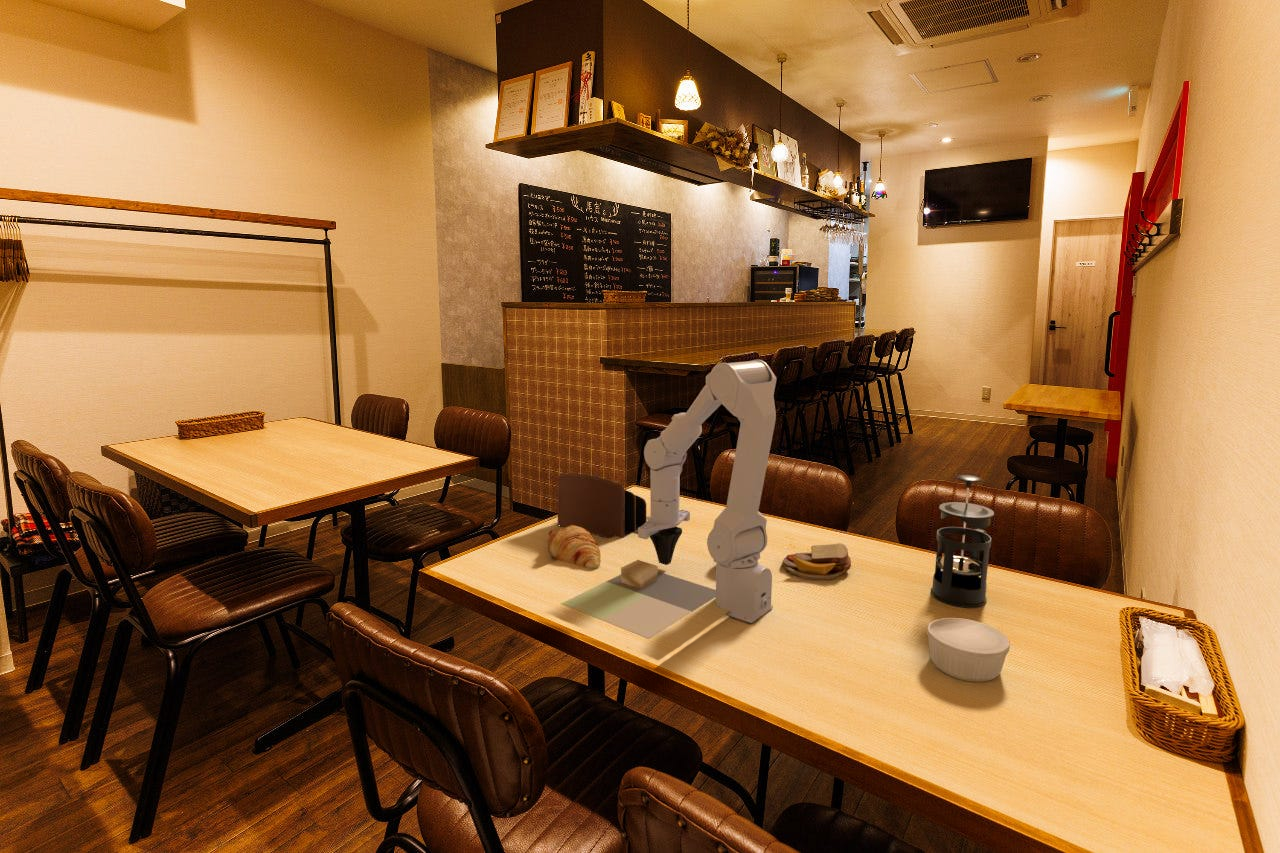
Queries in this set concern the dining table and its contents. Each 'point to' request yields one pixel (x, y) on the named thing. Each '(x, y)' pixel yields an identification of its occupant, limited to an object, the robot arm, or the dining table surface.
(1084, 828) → the dining table surface
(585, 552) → the croissant
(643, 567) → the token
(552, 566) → the dining table surface
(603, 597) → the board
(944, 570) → the french press
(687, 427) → the robot arm
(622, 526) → the letter holder
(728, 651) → the dining table surface
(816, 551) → the toy sandwich meal
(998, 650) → the ramekin
